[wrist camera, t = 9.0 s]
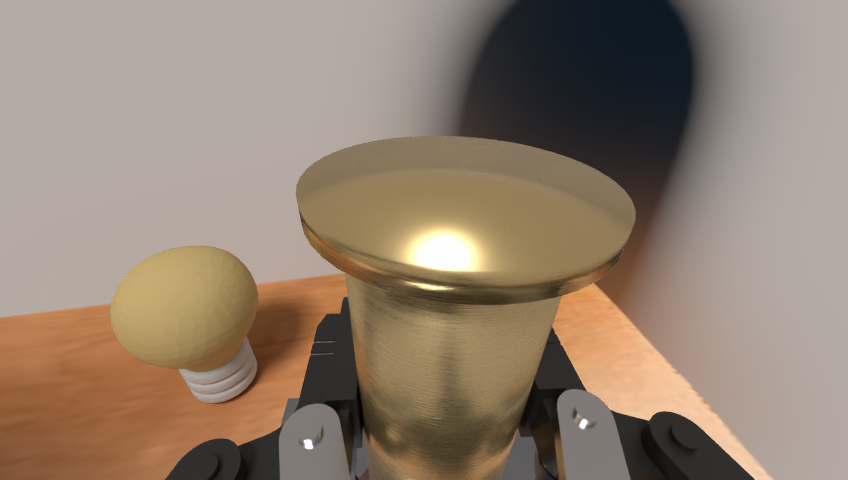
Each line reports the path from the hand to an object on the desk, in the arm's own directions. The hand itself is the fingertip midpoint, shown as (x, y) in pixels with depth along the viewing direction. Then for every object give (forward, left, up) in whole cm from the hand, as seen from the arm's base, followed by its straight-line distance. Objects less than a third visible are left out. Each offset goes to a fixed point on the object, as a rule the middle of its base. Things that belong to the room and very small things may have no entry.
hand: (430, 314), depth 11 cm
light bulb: (-12, +6, -12) cm, 18 cm away
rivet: (0, -3, -8) cm, 8 cm away
